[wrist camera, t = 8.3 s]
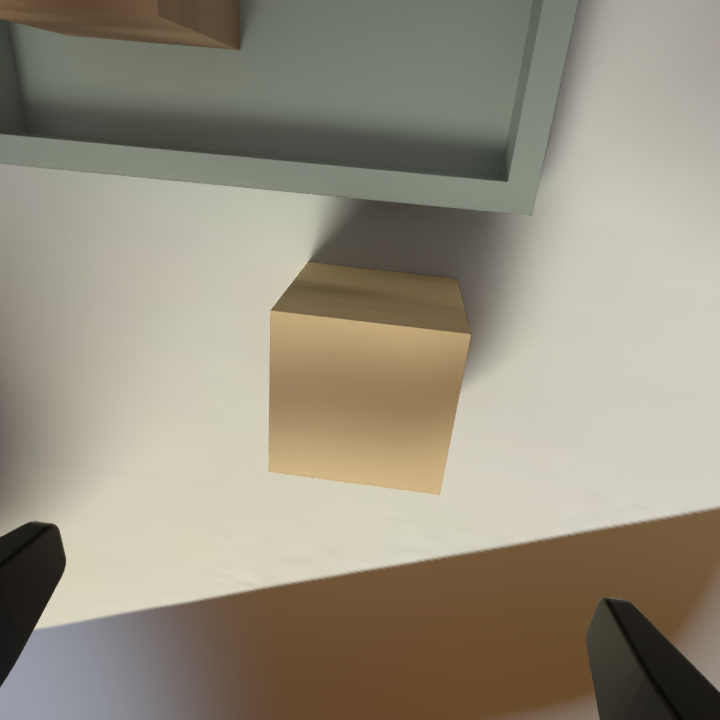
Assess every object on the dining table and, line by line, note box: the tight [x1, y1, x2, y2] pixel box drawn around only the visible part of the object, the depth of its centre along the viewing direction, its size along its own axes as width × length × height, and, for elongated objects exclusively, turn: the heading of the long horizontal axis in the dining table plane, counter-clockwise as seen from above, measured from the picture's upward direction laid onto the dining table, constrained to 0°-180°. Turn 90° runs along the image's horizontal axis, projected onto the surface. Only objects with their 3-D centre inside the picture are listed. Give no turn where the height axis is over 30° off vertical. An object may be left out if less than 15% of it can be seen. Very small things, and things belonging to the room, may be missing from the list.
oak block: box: [269, 262, 471, 495], centre depth 16 cm, size 5×5×5 cm
